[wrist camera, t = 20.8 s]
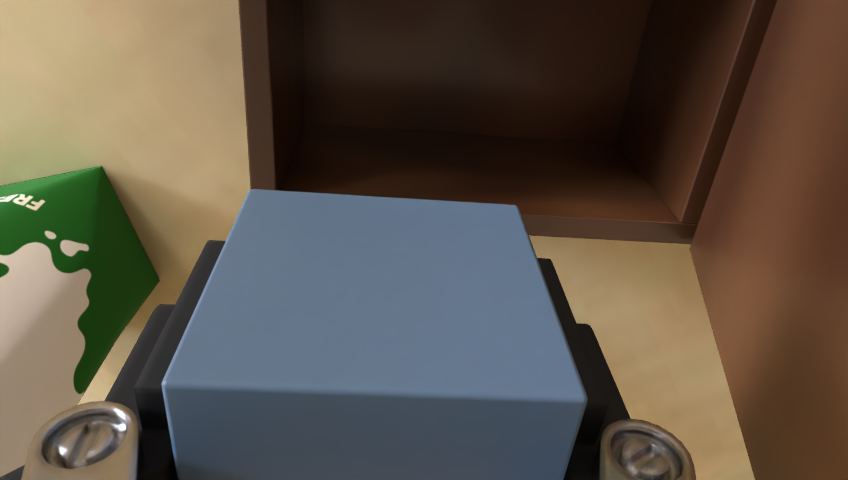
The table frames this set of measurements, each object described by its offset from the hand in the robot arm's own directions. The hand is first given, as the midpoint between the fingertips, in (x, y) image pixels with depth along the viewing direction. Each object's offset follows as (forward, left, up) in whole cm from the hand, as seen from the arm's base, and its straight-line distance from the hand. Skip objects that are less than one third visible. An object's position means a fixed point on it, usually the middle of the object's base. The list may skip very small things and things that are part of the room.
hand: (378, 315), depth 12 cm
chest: (+4, +3, -19) cm, 20 cm away
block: (0, 0, 0) cm, 0 cm away
